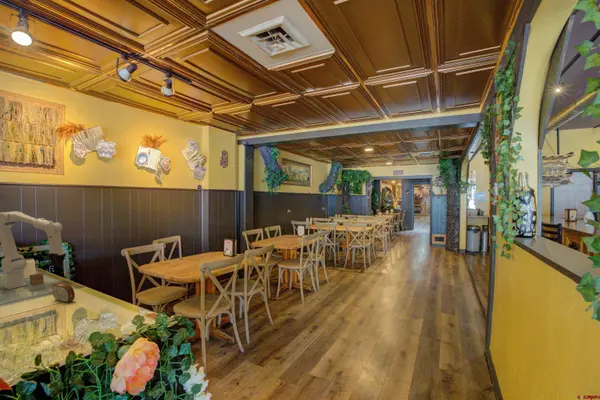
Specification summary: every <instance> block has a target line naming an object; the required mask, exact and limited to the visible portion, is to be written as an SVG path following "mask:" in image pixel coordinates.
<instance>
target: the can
mask: <svg viewBox="0 0 600 400" xmlns="http://www.w3.org/2000/svg"><path fill="white" fill-rule="evenodd" d="M24 259H25V260H26V262H27V265H26V267H25V269H24V279H25V280H27V279H28V278H29V279H30V276H29V275H33V274H37V270H36V261H35V259H34V258H33V257H32V258H30V257H29V258H24Z"/></svg>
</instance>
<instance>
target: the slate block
mask: <svg viewBox="0 0 600 400" xmlns="http://www.w3.org/2000/svg"><path fill="white" fill-rule="evenodd" d="M45 288H46V286H45V282H44V283H43V284H39V285H35V286H32V285H30V290H31V291H32V292H35V291H38V290H39V291H40V290H43V289H45Z"/></svg>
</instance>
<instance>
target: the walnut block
mask: <svg viewBox="0 0 600 400" xmlns="http://www.w3.org/2000/svg"><path fill="white" fill-rule="evenodd" d="M29 276H30V278H29V284H30V286H31V285H32V286H35V285H39V284H43V283H44V284H45V281H44V279H45V278H44V273H41V272H36V274H33V275H29Z"/></svg>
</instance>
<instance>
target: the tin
mask: <svg viewBox="0 0 600 400" xmlns="http://www.w3.org/2000/svg"><path fill="white" fill-rule="evenodd" d="M51 292H52V297H53V298H54V300H56V301H58V302H61V303H62V302H63V303H69V302H72V301H74V300H75V298H76V297H75V296H76V294H75V293H76V292H75V290H74V288H73V286H72V285H71V284H68V283H62V282H59V283H56V284H53V285H52V287H51Z"/></svg>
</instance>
